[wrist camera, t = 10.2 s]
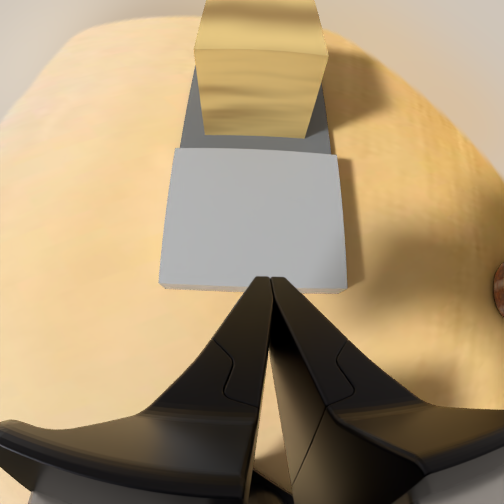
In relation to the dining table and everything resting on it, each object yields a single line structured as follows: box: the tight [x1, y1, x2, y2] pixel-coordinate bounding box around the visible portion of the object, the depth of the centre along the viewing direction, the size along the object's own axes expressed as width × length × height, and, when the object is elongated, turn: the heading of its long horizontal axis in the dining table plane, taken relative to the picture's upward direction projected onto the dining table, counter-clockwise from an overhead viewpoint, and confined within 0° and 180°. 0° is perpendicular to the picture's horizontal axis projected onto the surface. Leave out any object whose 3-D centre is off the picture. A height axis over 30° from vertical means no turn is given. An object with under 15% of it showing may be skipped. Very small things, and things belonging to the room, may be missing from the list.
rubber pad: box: [180, 65, 331, 154], centre depth 26 cm, size 11×12×1 cm
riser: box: [159, 148, 347, 294], centre depth 22 cm, size 10×12×2 cm
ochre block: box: [194, 0, 329, 139], centre depth 22 cm, size 8×8×9 cm
